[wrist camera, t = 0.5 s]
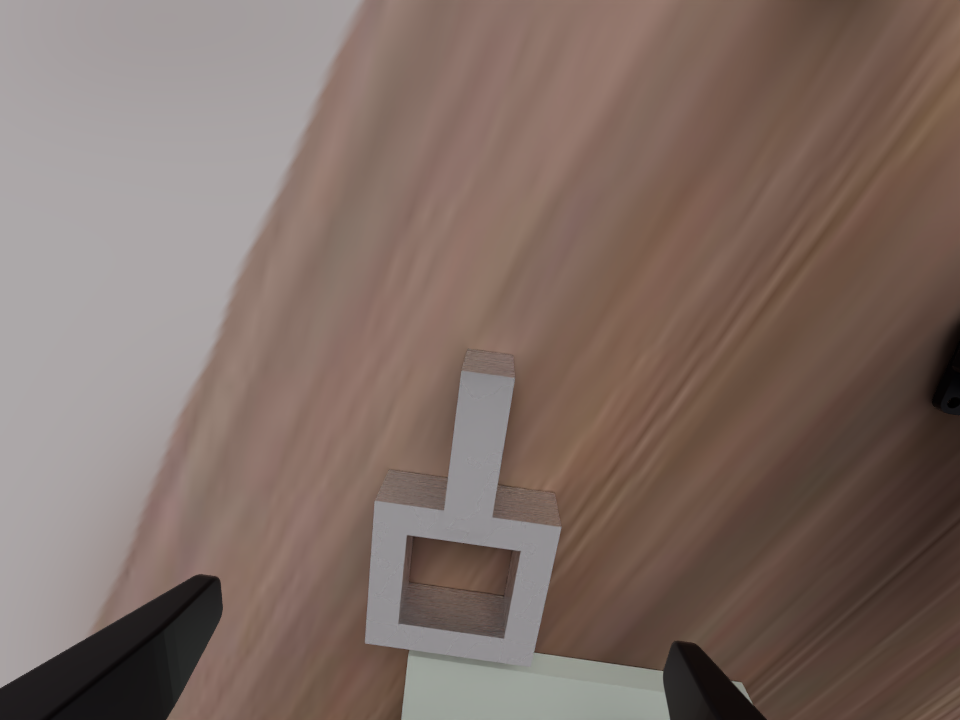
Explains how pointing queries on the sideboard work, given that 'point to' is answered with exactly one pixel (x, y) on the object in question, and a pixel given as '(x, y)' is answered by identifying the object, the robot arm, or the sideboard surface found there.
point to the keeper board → (531, 690)
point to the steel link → (464, 537)
